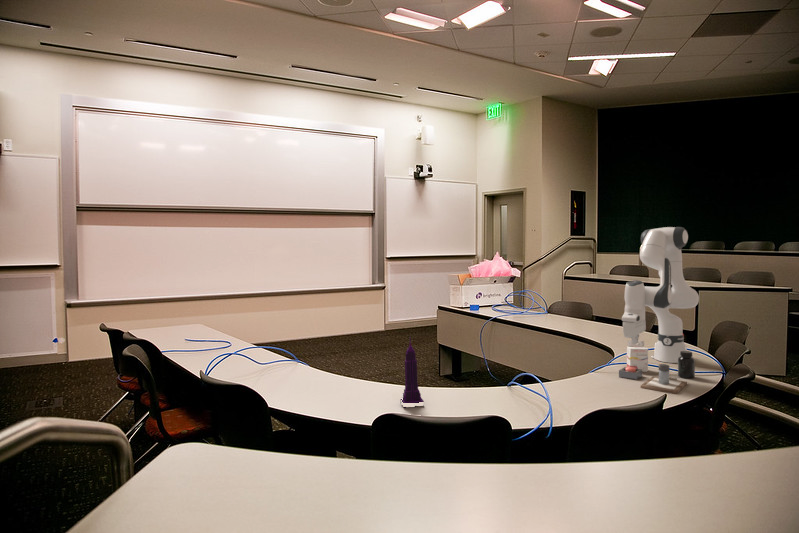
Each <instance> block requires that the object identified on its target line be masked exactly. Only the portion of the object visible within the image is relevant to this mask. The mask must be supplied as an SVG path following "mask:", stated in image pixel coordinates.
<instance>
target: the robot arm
mask: <svg viewBox="0 0 799 533" xmlns="http://www.w3.org/2000/svg"><path fill="white" fill-rule="evenodd" d="M688 240H689V234H688V230H687V229H685V227H682V226H676V227H675V226H674V227H673V226H667V227H666V226H665V227H664V226H663V227H658V228H649V229H645V230H643V232H641V235H640V244H641V247H640V251H639V259H640V261H641V263H642V264H644V265H645V266H646V267H648V268H651V269H654V270H657V271H658V277H659V278H660V281H659V282H660V283H659V285H658V286H647V285H646V286H645V285H644V281H642V280H638V279H637V280H635V279H634V280H630V281H627V282H626V284H625V285H624V287H625V288H624V303H625V305H624V313H623V315H621V321H622V334H623V337H624V338H627V339H631V341H632V344H639V343H638V341H639V339H640V334H642V333H644V332H645V331H646V329H647V326H646V324H647V323H646V307H648V308H650V309H651V310H652V311H653V313H654V314H655V315H656V318H657V322H658V332H657V342H656V341H655V343H654V351H653V352H654V354H652V355H651V356H650V357H651V358H652V359H653V360H654V359H655V360H656V361H659V362H663V363H670V364H678V358H679V357H680V356H681V355H680V351H688V349H687V348H688V347H687V345H686V343H685V342H684V341H685V340H684V339H685V334H684V333H683V320H682V318H681V317H679V316H677V315H676V314H674V313H671V312H670V309H683V310H684V309H685V310H686V309H693V308H695V307H696V306H697V305H698V304H699V302H700V296H699V294H698V291H696V289H694V288H692V287H691V286H690V285H689V284H688V283H687V281H686V279H685V277H684V273H683V270H684V269H683V254H682V249H683V247H684V248H685V246H686V245H687V243H688Z"/></svg>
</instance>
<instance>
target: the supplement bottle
mask: <svg viewBox="0 0 799 533" xmlns="http://www.w3.org/2000/svg"><path fill="white" fill-rule="evenodd" d="M680 355H681V356H680V357H679V358H678V363H677V375H678V378H681V379H687V380H688V379H689V380H691V379H695V376H696V365H695V364H696V360H695V358H694V357H693V351H691V350H690V351H689V350H687V351H680Z"/></svg>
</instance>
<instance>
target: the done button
mask: <svg viewBox="0 0 799 533" xmlns="http://www.w3.org/2000/svg"><path fill="white" fill-rule="evenodd" d="M625 367H626V368H625V369H626V371H630V372H636V368H634V367H627V366H625Z"/></svg>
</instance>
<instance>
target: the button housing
mask: <svg viewBox="0 0 799 533" xmlns="http://www.w3.org/2000/svg"><path fill="white" fill-rule="evenodd" d="M626 367H627V366H624V367H622V368H621V369H619V370H618V378H622V379H629V380H635V381H637V380H639V379H641V378H642V377H643V372H642V369H636V372H630V371H626V369H625V368H626Z"/></svg>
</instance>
